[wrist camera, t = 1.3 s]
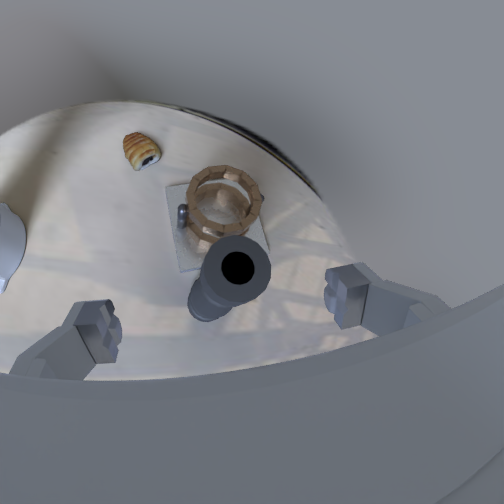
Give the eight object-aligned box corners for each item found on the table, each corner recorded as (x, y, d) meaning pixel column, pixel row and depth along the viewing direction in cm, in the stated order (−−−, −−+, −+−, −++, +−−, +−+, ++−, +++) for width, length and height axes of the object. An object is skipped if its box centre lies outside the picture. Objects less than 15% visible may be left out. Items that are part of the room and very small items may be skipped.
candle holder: (180, 295, 45) (186, 251, 22) (212, 279, 47) (250, 221, 24) (198, 328, 44) (224, 320, 21) (230, 311, 46) (287, 283, 23)
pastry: (116, 146, 50) (113, 135, 46) (142, 132, 52) (142, 120, 49) (136, 175, 49) (134, 164, 45) (164, 159, 52) (164, 147, 48)
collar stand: (180, 273, 46) (182, 256, 37) (165, 191, 49) (165, 160, 40) (267, 255, 51) (287, 237, 42) (245, 180, 55) (259, 151, 45)
